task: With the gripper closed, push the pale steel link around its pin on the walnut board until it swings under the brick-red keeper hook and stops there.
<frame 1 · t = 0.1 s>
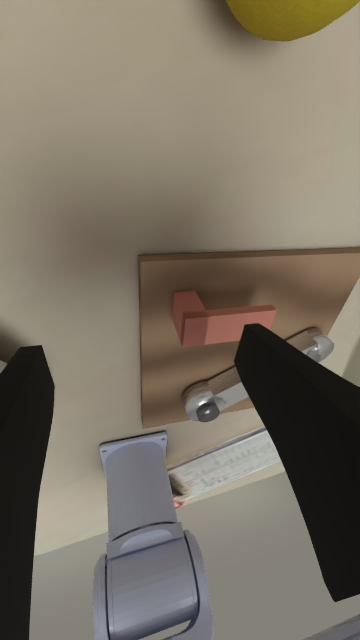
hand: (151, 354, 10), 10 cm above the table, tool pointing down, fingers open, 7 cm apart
board: (236, 346, 26), on the table
link: (256, 378, 26), point 3 cm above the table, hinge at -60.0°
keeper: (195, 297, 21), resting on board
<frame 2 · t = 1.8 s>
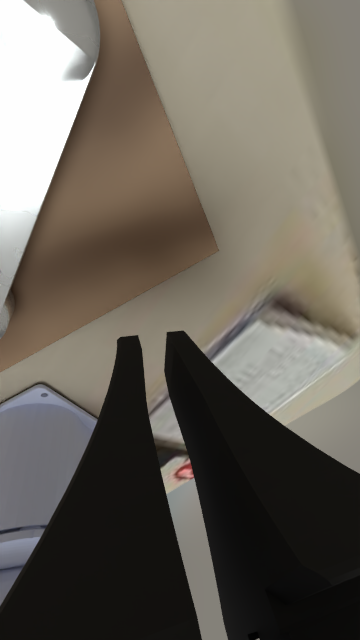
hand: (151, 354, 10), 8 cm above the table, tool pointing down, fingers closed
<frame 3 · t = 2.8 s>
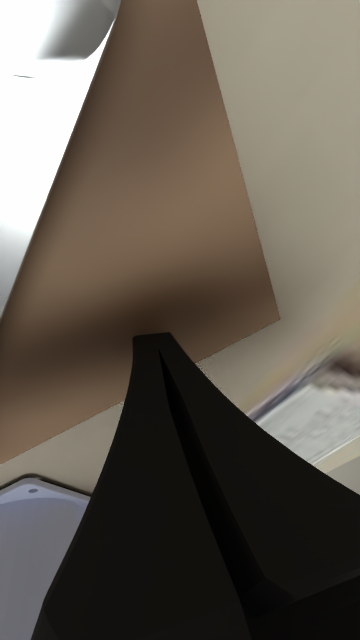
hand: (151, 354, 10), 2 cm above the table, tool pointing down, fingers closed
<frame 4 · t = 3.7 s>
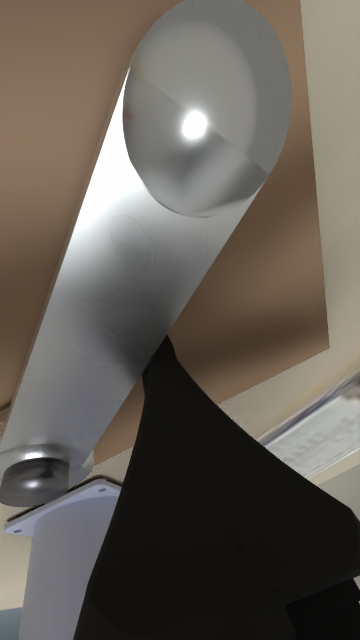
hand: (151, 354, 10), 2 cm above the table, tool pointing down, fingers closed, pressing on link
board: (23, 288, 9), on the table
link: (89, 356, 8), point 3 cm above the table, hinge at -55.5°, touching gripper
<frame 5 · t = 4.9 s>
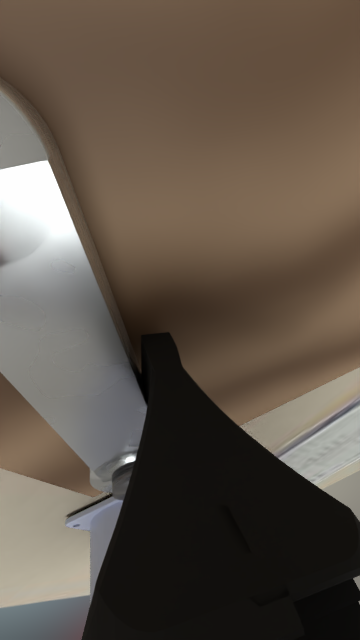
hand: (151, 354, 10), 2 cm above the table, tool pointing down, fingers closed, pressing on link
board: (137, 321, 11), on the table
link: (91, 387, 9), point 3 cm above the table, hinge at -17.2°, touching gripper
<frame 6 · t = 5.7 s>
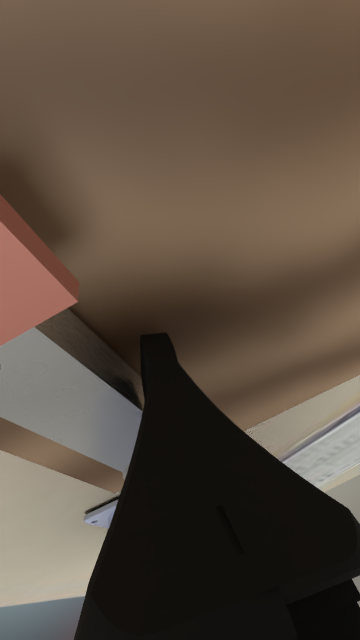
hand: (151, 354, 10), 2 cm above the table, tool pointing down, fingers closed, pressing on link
board: (170, 321, 11), on the table
link: (85, 403, 9), point 3 cm above the table, hinge at 1.2°, touching gripper
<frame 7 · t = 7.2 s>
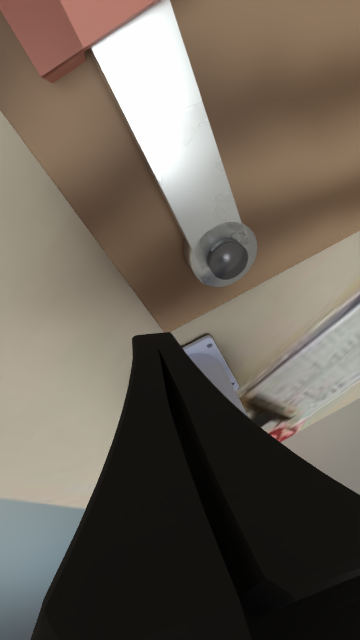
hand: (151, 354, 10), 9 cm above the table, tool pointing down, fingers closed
board: (233, 125, 14), on the table
link: (180, 152, 12), point 3 cm above the table, hinge at 1.2°
keeper: (76, 17, 11), resting on board
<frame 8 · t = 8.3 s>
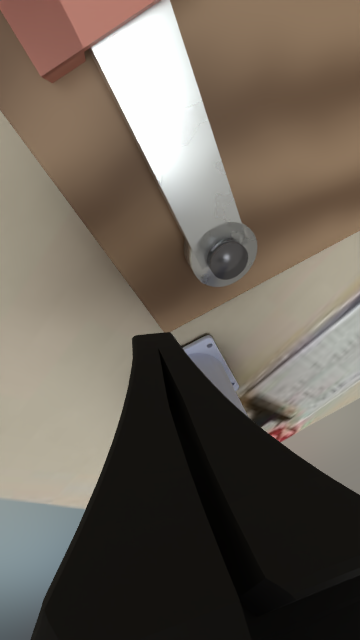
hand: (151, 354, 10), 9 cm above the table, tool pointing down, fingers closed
board: (233, 125, 14), on the table
link: (180, 152, 12), point 3 cm above the table, hinge at 1.2°
keeper: (76, 17, 11), resting on board
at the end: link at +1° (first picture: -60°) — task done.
